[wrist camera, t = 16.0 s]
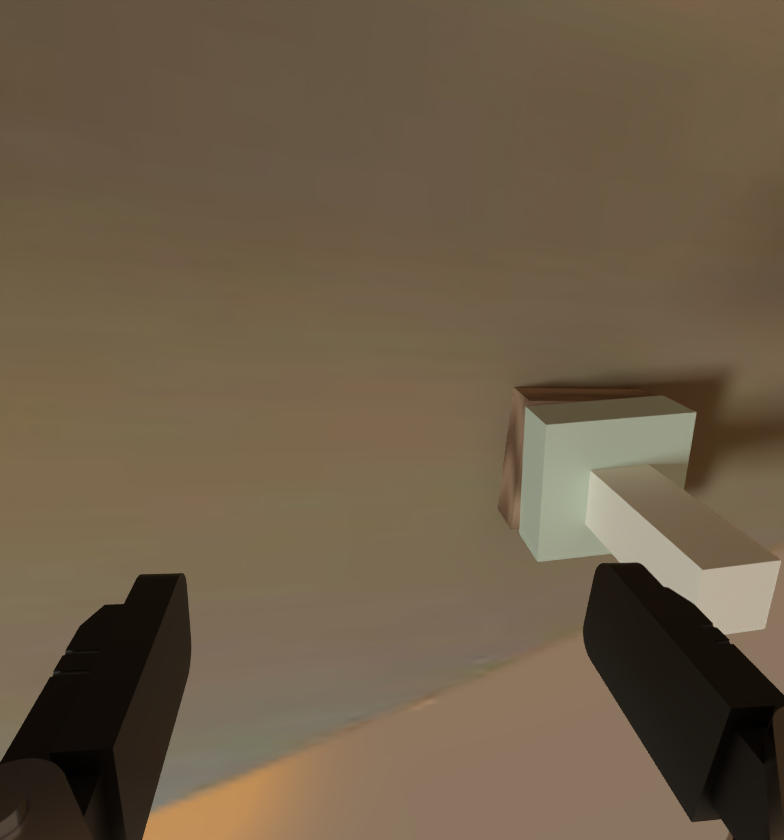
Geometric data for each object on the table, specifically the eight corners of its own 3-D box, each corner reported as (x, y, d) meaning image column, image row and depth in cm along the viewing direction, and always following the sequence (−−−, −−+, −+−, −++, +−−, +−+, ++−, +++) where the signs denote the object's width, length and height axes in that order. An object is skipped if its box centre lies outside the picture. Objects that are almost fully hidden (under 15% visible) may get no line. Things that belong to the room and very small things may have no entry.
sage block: (525, 406, 41) (546, 424, 37) (663, 395, 42) (696, 412, 39) (519, 533, 45) (537, 561, 41) (645, 520, 46) (674, 546, 42)
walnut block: (511, 385, 45) (529, 400, 41) (636, 387, 46) (665, 402, 42) (496, 505, 48) (511, 529, 45) (612, 503, 50) (636, 526, 46)
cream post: (590, 470, 39) (702, 570, 28) (648, 464, 39) (781, 560, 28) (585, 524, 40) (689, 639, 29) (640, 517, 41) (764, 629, 30)
